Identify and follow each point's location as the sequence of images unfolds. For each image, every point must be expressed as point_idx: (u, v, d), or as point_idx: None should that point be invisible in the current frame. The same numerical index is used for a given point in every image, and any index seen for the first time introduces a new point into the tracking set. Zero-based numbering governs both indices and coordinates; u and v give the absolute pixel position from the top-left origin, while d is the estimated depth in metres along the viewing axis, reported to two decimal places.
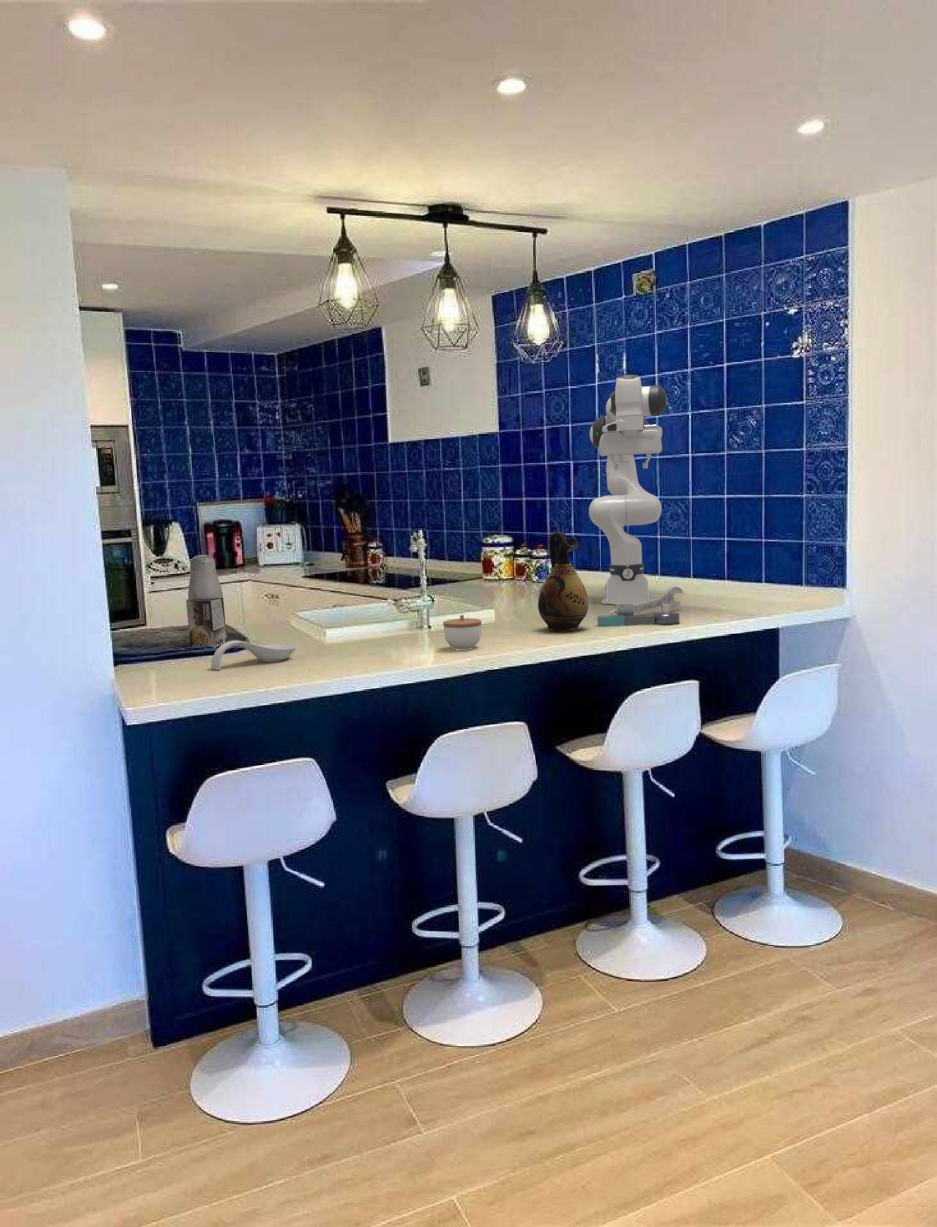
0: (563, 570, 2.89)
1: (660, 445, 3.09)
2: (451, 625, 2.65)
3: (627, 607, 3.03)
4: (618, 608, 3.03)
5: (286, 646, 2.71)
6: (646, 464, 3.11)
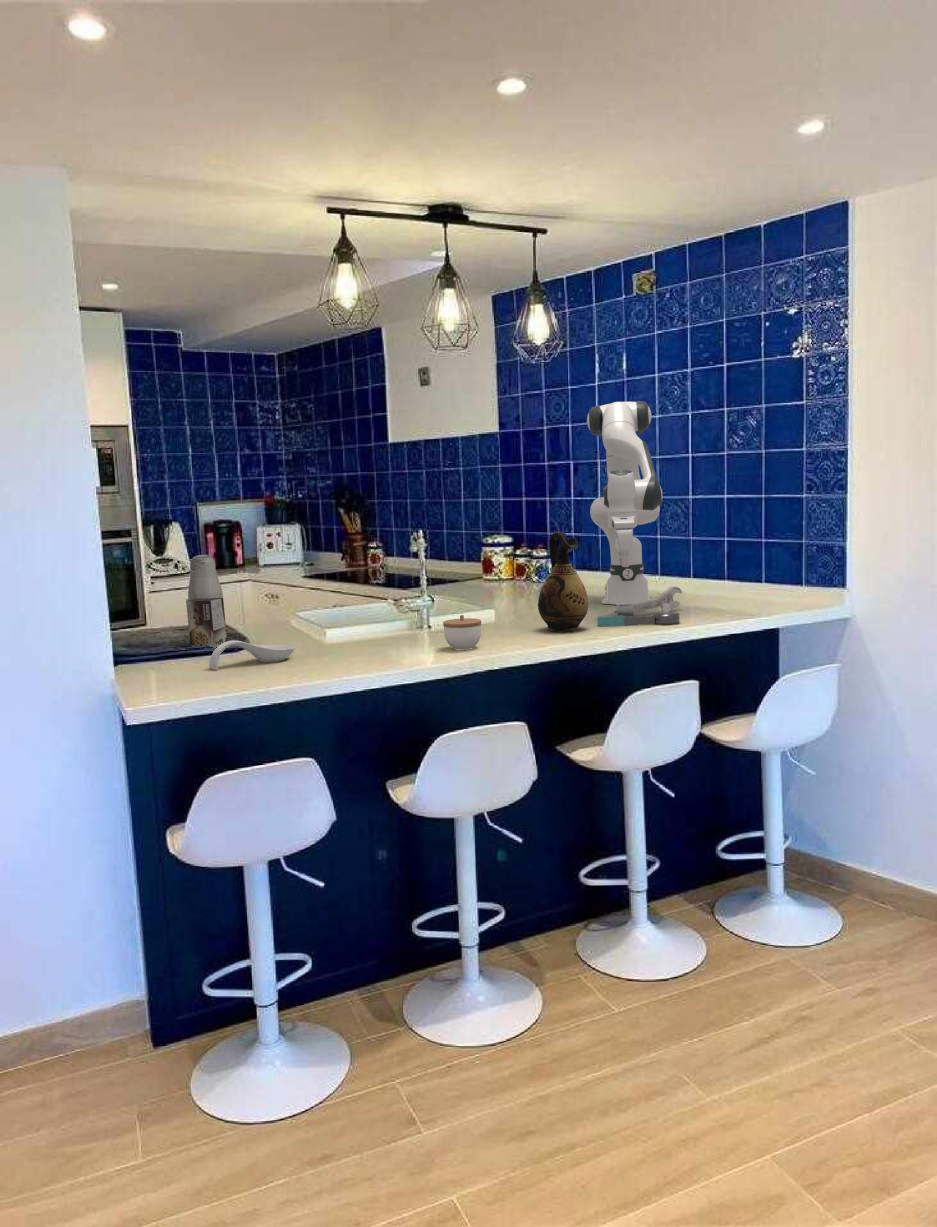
0: (563, 570, 2.89)
1: None
2: (451, 625, 2.65)
3: (627, 607, 3.03)
4: (618, 608, 3.03)
5: (286, 646, 2.70)
6: None
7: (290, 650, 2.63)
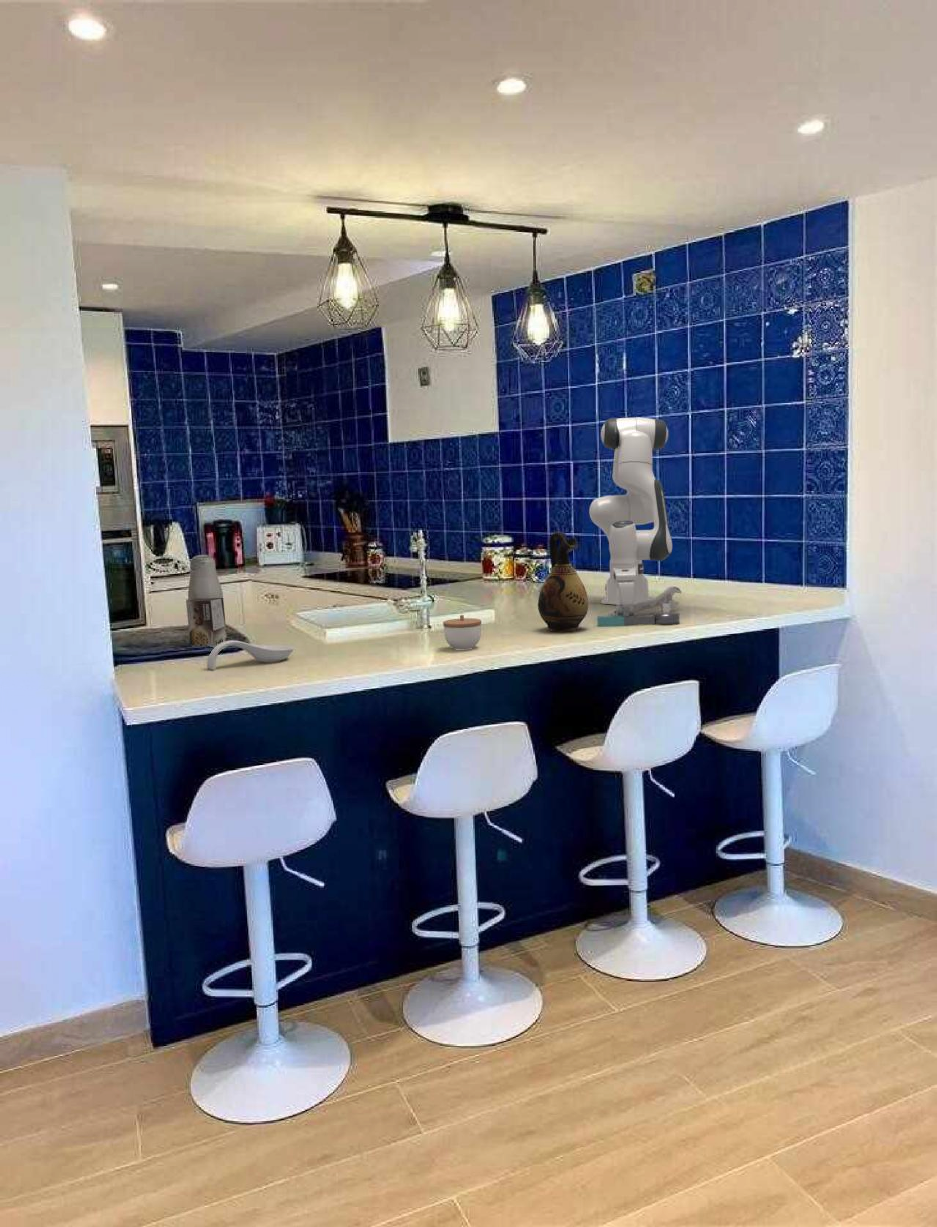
0: (563, 570, 2.89)
1: None
2: (451, 625, 2.65)
3: None
4: (618, 608, 3.03)
5: (286, 647, 2.70)
6: None
7: (288, 651, 2.63)
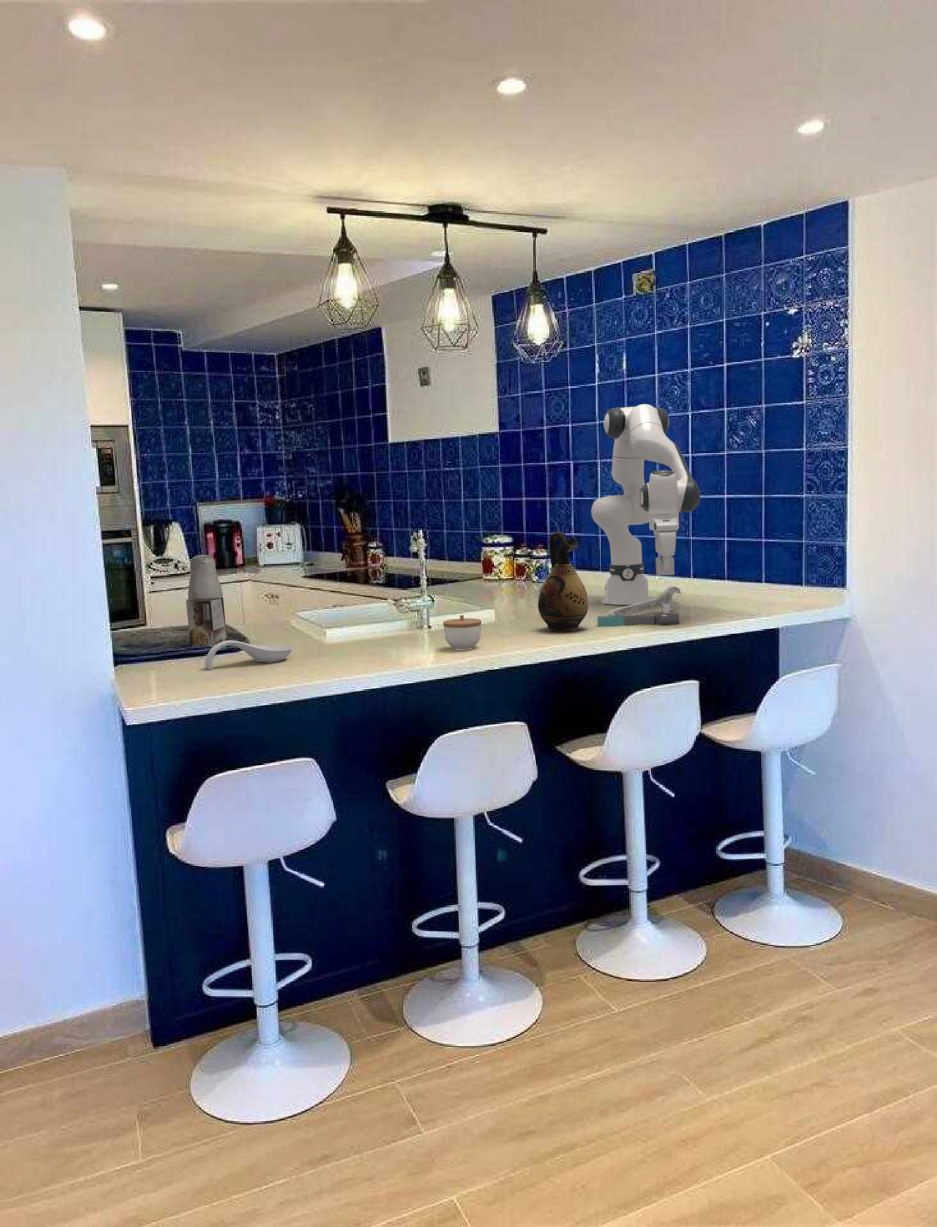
0: (563, 570, 2.89)
1: None
2: (451, 625, 2.65)
3: None
4: (658, 560, 2.92)
5: (285, 647, 2.69)
6: None
7: (286, 651, 2.62)
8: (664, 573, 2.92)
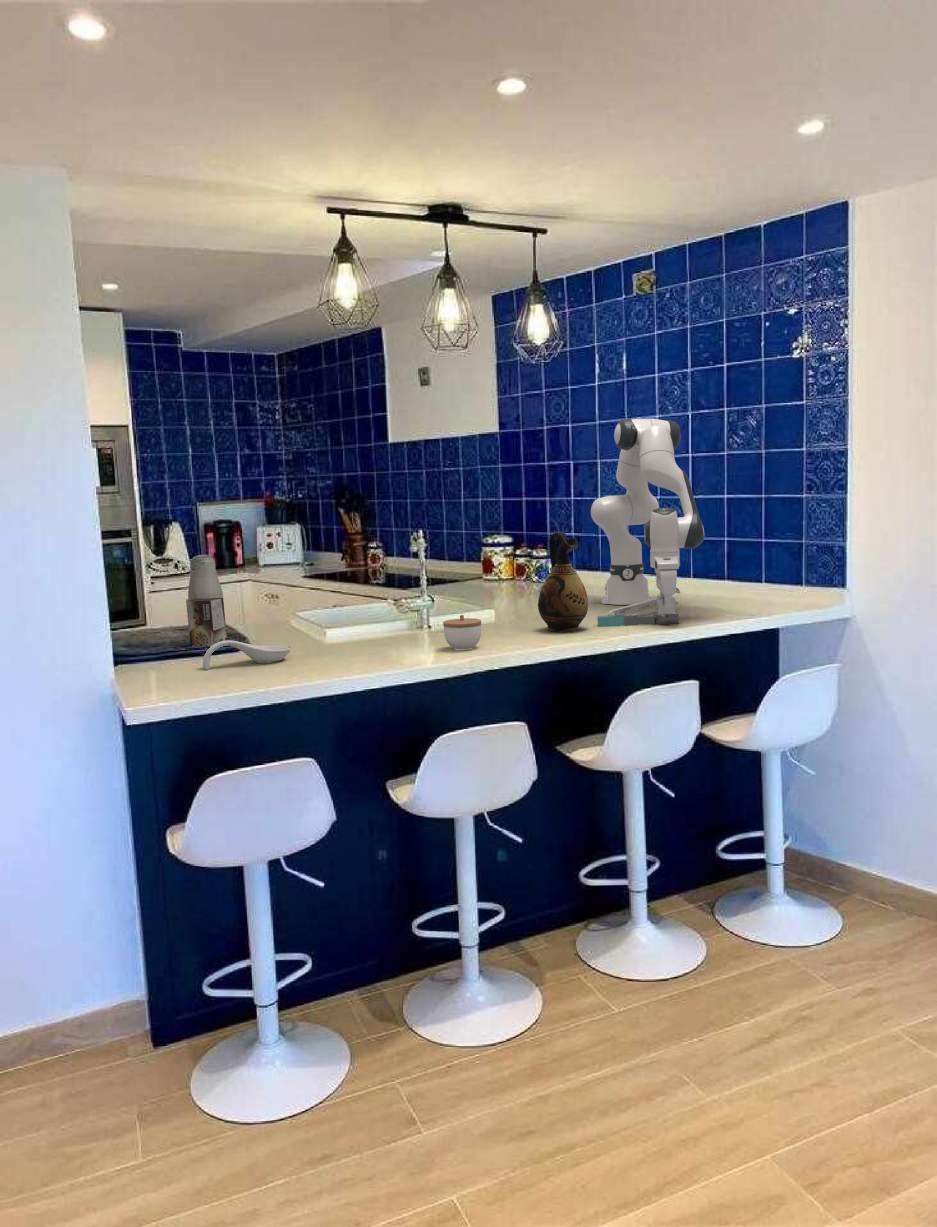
0: (563, 570, 2.89)
1: None
2: (451, 625, 2.65)
3: None
4: (659, 600, 2.94)
5: (284, 647, 2.68)
6: None
7: (283, 652, 2.61)
8: (665, 613, 2.94)
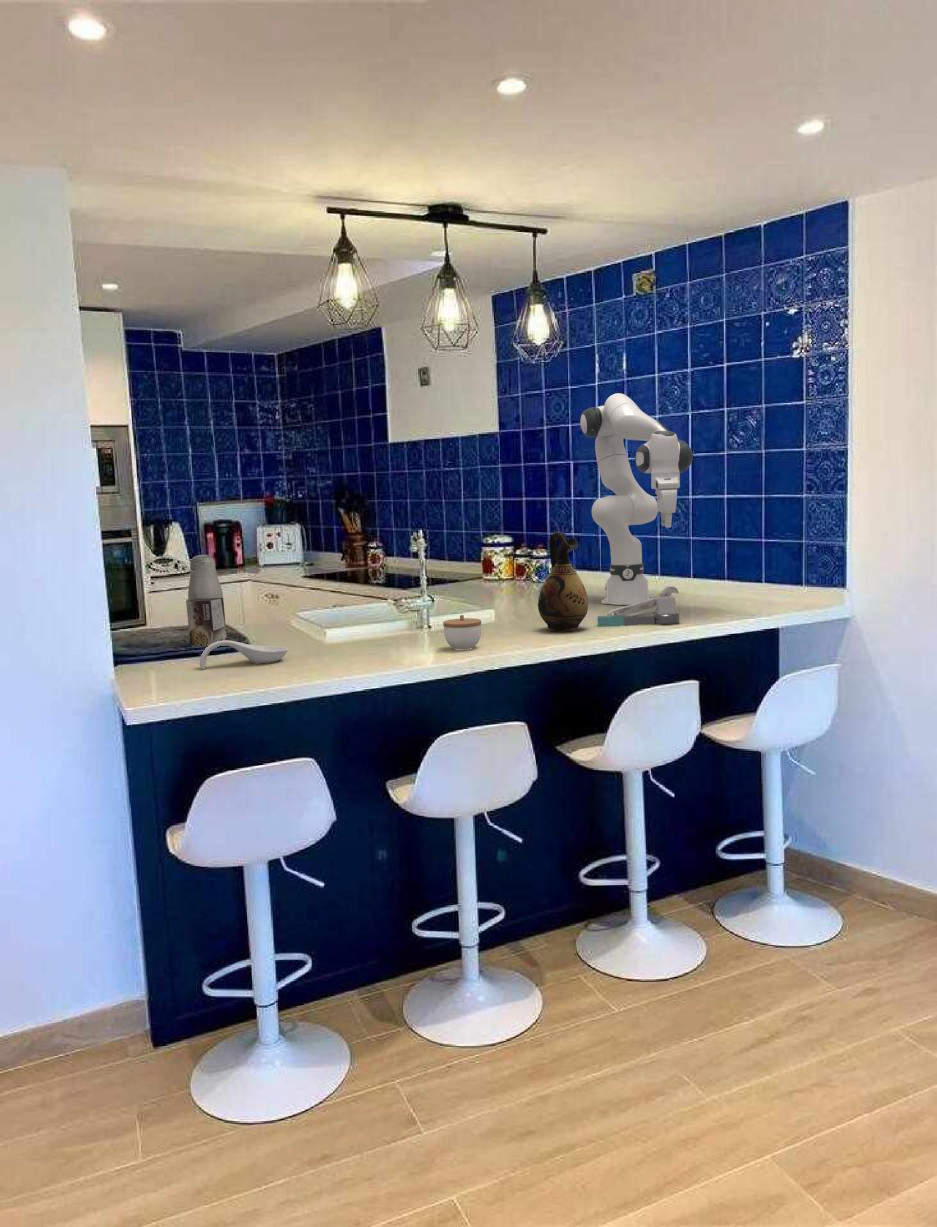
0: (563, 570, 2.89)
1: None
2: (451, 625, 2.65)
3: (668, 599, 2.94)
4: (659, 600, 2.94)
5: (282, 648, 2.68)
6: None
7: (280, 652, 2.61)
8: (665, 613, 2.94)
